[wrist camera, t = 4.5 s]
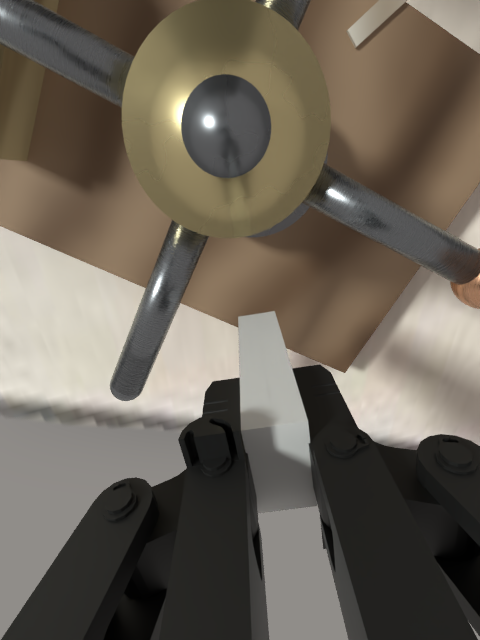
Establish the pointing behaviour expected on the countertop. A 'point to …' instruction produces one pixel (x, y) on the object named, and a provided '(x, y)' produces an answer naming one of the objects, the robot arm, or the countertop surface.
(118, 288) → the countertop surface
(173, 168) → the cam capstan
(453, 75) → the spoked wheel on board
